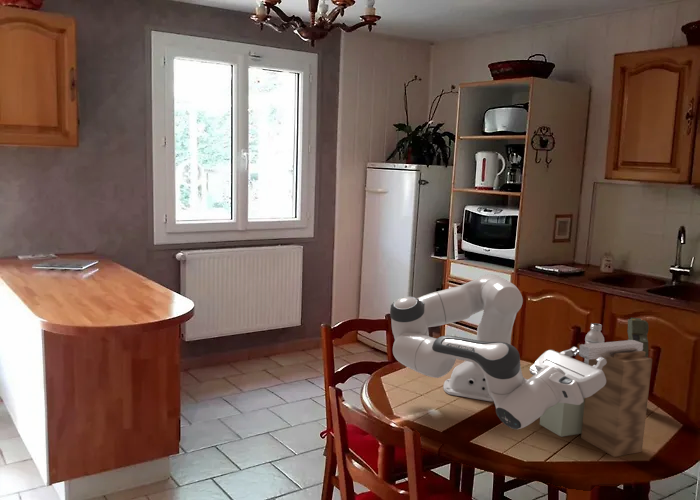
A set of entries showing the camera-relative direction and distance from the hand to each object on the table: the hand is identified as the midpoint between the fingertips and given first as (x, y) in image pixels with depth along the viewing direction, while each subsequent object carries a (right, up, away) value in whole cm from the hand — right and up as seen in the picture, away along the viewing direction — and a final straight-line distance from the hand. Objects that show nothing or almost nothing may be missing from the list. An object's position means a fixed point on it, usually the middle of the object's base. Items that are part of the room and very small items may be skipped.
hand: (590, 354), depth 165 cm
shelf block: (0, -25, +18) cm, 31 cm away
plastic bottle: (+26, -20, +66) cm, 73 cm away
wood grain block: (+9, -26, +8) cm, 29 cm away
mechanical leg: (+28, -23, +38) cm, 53 cm away
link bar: (+7, -1, +3) cm, 8 cm away
